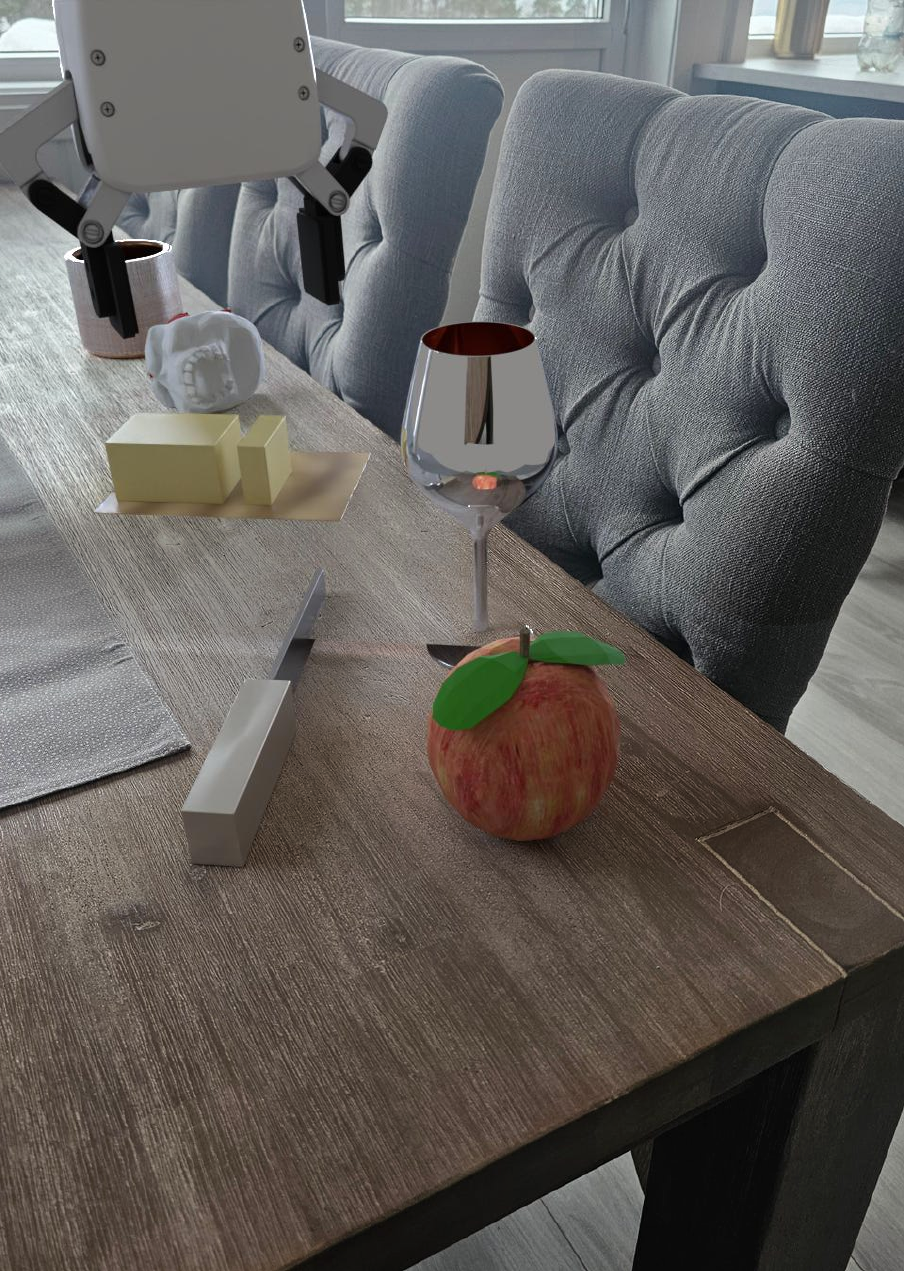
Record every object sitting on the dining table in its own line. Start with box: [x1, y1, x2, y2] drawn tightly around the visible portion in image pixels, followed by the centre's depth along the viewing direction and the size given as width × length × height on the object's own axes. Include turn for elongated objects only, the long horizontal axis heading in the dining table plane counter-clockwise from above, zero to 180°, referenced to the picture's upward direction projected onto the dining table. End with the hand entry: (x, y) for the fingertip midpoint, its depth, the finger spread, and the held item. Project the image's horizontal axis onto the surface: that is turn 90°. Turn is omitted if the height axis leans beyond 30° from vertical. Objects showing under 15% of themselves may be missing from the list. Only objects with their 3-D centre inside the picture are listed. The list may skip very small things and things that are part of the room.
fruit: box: [426, 627, 627, 842], centre depth 47 cm, size 9×10×10 cm
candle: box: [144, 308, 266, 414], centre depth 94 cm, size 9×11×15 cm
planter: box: [64, 239, 184, 359], centre depth 110 cm, size 11×11×10 cm
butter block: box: [104, 411, 243, 504], centre depth 78 cm, size 8×6×4 cm
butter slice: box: [237, 414, 292, 505], centre depth 77 cm, size 2×6×4 cm, turn 173°
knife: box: [180, 567, 327, 868], centre depth 55 cm, size 22×2×3 cm, turn 173°
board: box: [93, 450, 372, 522], centre depth 80 cm, size 18×12×1 cm, turn 83°
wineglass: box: [400, 320, 559, 670], centre depth 57 cm, size 8×8×18 cm
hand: (226, 314), depth 50 cm, fingers open, 9 cm apart
